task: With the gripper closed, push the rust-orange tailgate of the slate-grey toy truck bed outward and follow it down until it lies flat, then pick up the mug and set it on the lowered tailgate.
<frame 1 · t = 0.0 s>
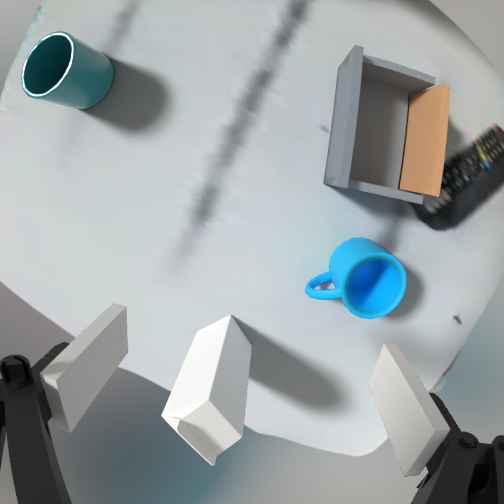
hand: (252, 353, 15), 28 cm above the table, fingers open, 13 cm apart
tailgate: (424, 140, 33), point 5 cm above the table, hinge at 5.0°
mug: (343, 269, 43), on the table
cup: (87, 74, 38), on the table
milk: (224, 337, 46), on the table
truck bed: (368, 131, 38), on the table
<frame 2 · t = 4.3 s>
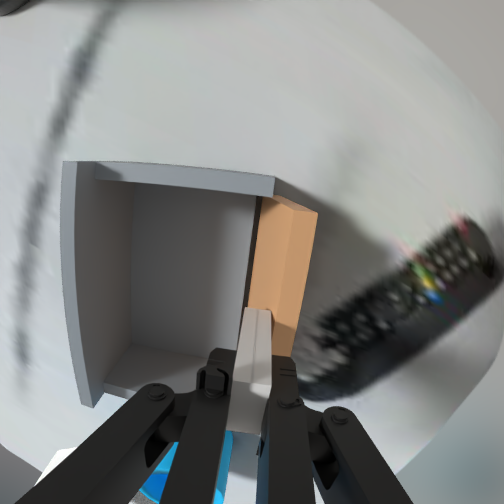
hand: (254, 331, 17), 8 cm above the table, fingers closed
tailgate: (268, 307, 20), point 5 cm above the table, hinge at 11.6°, touching gripper
mug: (179, 434, 30), on the table
milk: (82, 460, 33), on the table
truck bed: (182, 270, 25), on the table
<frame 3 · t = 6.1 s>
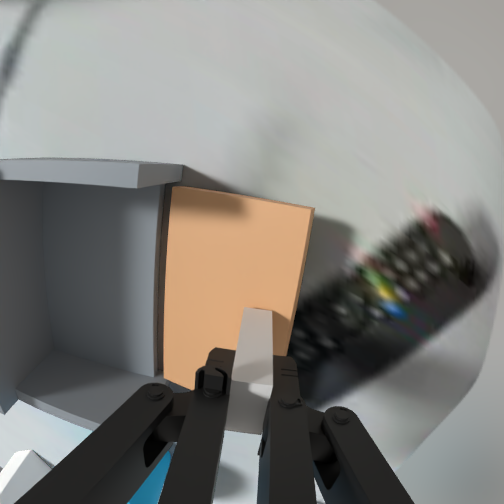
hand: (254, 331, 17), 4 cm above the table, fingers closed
tailgate: (226, 309, 19), point 2 cm above the table, hinge at 72.2°, touching gripper
mug: (117, 445, 26), on the table
milk: (38, 463, 29), on the table
truck bed: (94, 273, 21), on the table
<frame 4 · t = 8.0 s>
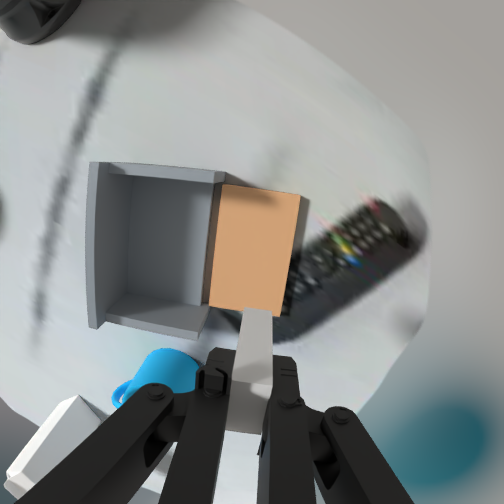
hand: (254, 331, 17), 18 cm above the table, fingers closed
tailgate: (252, 252, 34), point 1 cm above the table, hinge at 90.1°
mug: (160, 374, 40), on the table
milk: (80, 410, 43), on the table
truck bed: (164, 237, 35), on the table
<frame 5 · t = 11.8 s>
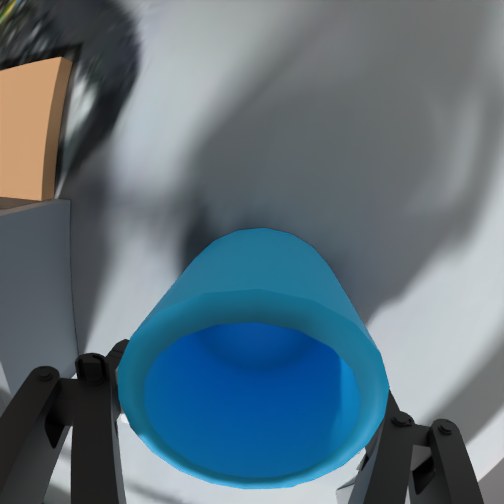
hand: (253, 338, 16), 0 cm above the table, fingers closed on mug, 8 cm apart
mug: (268, 336, 17), on the table, touching gripper
milk: (376, 488, 20), on the table
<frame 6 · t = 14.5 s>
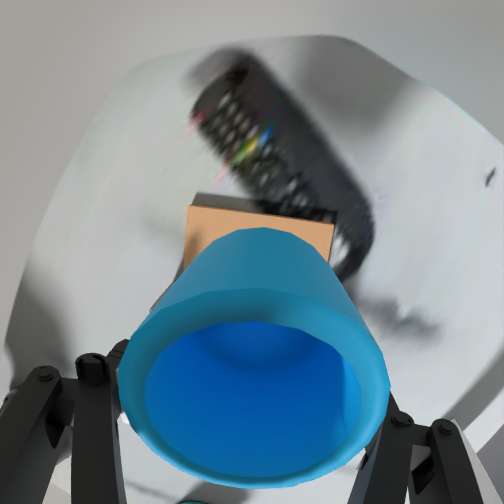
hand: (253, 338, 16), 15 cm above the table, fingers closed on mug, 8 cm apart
tailgate: (255, 256, 30), point 1 cm above the table, hinge at 90.1°
mug: (268, 336, 17), point 15 cm above the table, touching gripper
milk: (439, 436, 37), on the table
when the fingers open (3 cm above the table, at t = 17.3 s): mug drops 2 cm, resting on tailgate.
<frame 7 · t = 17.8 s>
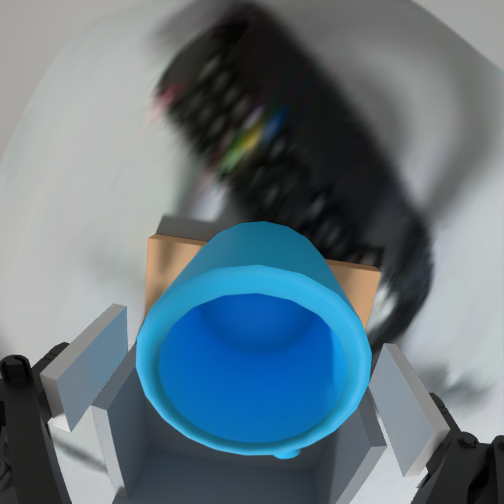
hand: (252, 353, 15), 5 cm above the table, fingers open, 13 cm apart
tailgate: (255, 316, 19), point 1 cm above the table, hinge at 90.1°, touching mug
mug: (267, 321, 19), point 1 cm above the table, touching tailgate
truck bed: (237, 425, 22), on the table
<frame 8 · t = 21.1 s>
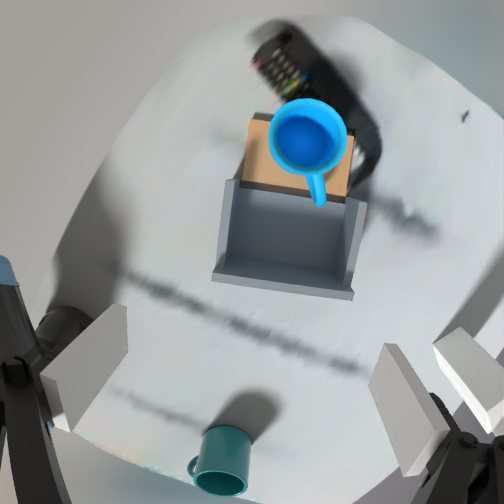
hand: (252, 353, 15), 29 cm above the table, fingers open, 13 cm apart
tailgate: (298, 157, 39), point 1 cm above the table, hinge at 90.1°, touching mug
mug: (304, 157, 39), point 1 cm above the table, touching tailgate
cup: (220, 440, 53), on the table
milk: (449, 346, 46), on the table
truck bed: (286, 232, 43), on the table
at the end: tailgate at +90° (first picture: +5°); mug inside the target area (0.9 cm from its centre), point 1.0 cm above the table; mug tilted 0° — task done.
